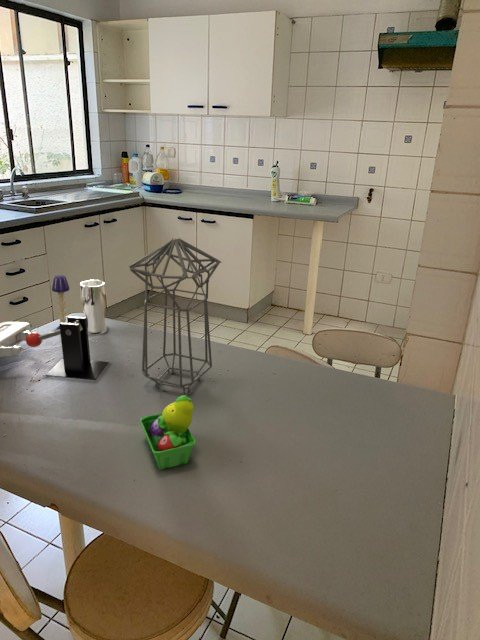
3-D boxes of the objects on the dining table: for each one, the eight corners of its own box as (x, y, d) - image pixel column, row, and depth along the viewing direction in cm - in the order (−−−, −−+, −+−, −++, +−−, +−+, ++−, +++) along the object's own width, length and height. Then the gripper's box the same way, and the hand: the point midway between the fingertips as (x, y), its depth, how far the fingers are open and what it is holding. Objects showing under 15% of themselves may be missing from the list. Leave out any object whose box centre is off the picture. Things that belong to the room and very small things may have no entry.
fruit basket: (139, 439, 90) (137, 389, 85) (183, 430, 93) (183, 380, 89) (154, 477, 80) (153, 422, 76) (203, 465, 84) (203, 412, 79)
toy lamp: (62, 327, 138) (56, 273, 131) (76, 329, 137) (71, 274, 131) (53, 333, 133) (46, 277, 127) (67, 335, 132) (62, 279, 126)
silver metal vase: (78, 334, 133) (73, 284, 128) (94, 325, 139) (90, 278, 134) (98, 338, 131) (94, 288, 125) (113, 330, 137) (110, 281, 131)
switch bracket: (45, 379, 109) (38, 326, 104) (63, 362, 117) (57, 311, 112) (95, 384, 108) (90, 330, 103) (109, 366, 116) (105, 315, 111)
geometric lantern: (192, 410, 100) (192, 251, 86) (130, 393, 105) (121, 241, 92) (221, 378, 113) (226, 236, 100) (165, 364, 118) (162, 228, 105)
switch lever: (27, 351, 110) (20, 338, 109) (34, 345, 113) (28, 332, 112) (79, 335, 107) (72, 322, 106) (85, 329, 110) (79, 316, 109)
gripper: (0, 336, 121) (51, 341, 120) (-54, 368, 102) (7, 374, 101) (-3, 313, 119) (49, 318, 118) (-58, 342, 100) (4, 348, 99)
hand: (29, 344), depth 109 cm, fingers open, 6 cm apart
